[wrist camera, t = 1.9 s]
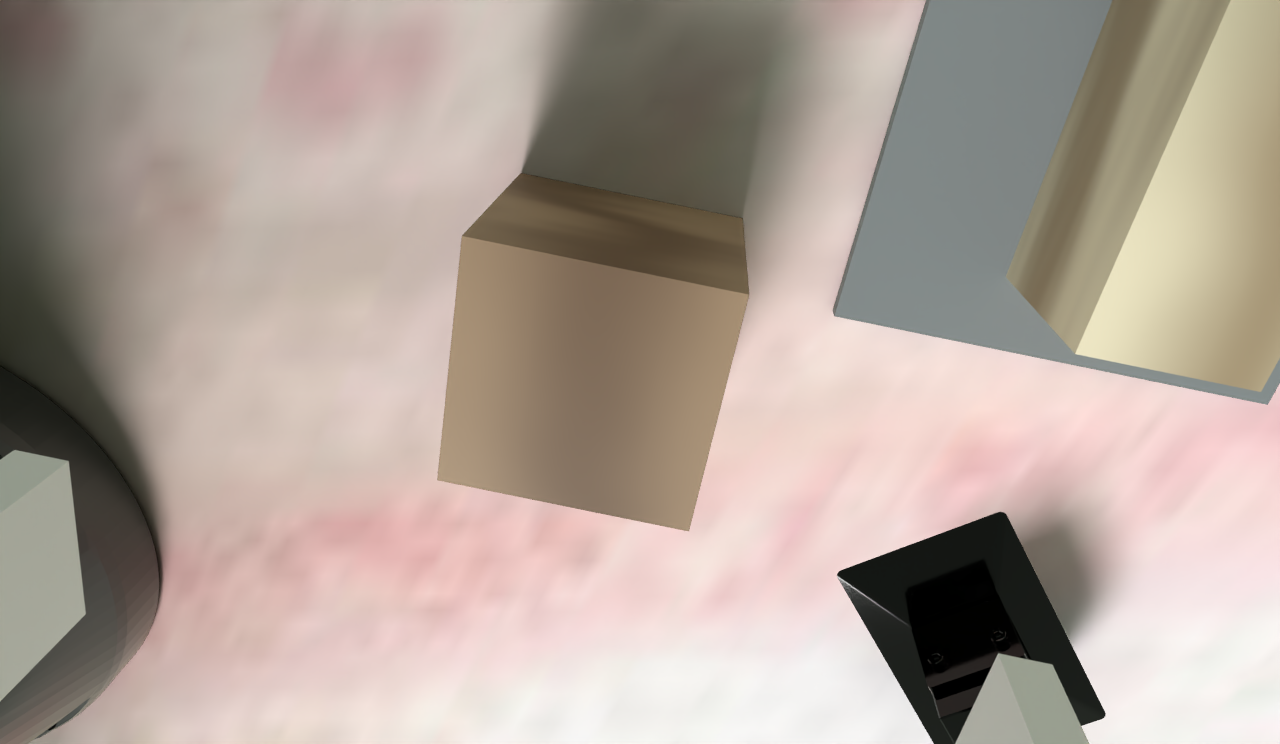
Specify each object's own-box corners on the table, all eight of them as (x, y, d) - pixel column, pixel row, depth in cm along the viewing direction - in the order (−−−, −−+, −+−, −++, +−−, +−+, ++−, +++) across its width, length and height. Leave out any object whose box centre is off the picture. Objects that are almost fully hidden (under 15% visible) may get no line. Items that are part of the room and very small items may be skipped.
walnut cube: (496, 372, 26) (437, 479, 21) (521, 172, 24) (462, 236, 18) (695, 412, 26) (688, 531, 21) (742, 217, 24) (748, 294, 18)
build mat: (832, 310, 24) (834, 315, 24) (1056, -432, 17) (1063, -440, 17) (1259, 398, 24) (1267, 404, 24) (1649, -308, 18) (1670, -314, 17)
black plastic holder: (790, 534, 28) (802, 632, 24) (1012, 441, 26) (1068, 530, 22) (942, 788, 32) (975, 911, 28) (1145, 725, 30) (1215, 846, 26)
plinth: (1005, 277, 23) (1075, 353, 19) (1218, -274, 18) (1386, -352, 13) (1155, 307, 23) (1260, 391, 19) (1410, -234, 18) (1643, -300, 13)
